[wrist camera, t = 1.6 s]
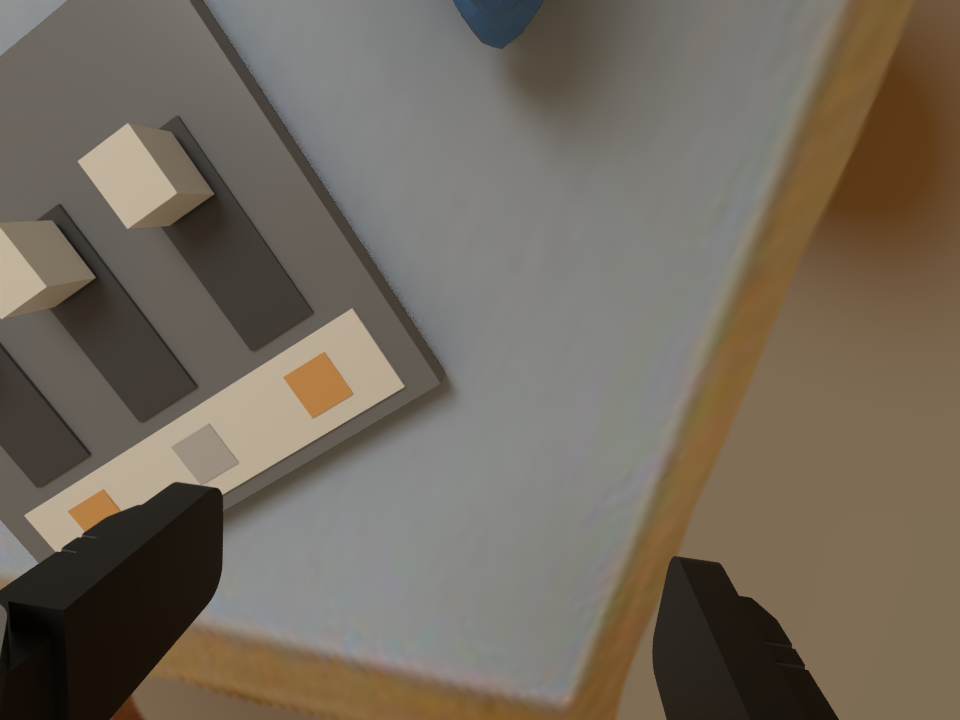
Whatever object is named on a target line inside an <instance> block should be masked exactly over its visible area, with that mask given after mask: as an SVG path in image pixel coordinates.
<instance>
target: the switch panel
mask: <svg viewBox="0 0 960 720" xmlns="http://www.w3.org/2000/svg"><path fill="white" fill-rule="evenodd" d="M127 123H131V124H136V125H140V126H145V127H150V128H155V129H160V130H165V131H170V132H172V134H173V135H174V137H175V138H176V139H177V141H178V142H179V144H180V145H181V147H182V148H183V149H184V151H185V152H186V154H187V155H188V157H189V158H190V160H191V161H192V162H193V164H194V165H195V167H196V168H197V170H198V171H199V173H200V174H201V175H202V177H203V178H204V180H205V181H206V183H207V184H208V185H209V187H210V188H211V190H212V191H213V193H214V195H212V196H211V197H209V198H208V199H207V200H205V201H204V202H202V203H201V204H199V205H198V206H197V207H195V208H194V209H192V210H191V211H190V212H188V213H187V214H185V215H184V216H183V217H181V218H180V219H178V220H177V221H175V222H174V223H173V224H171V225H170V226H162V227H148V228H135V229H127V228H126V226H125V225H124V224H123V222H122V221H121V220H120V218H119V217H118V216H117V214H116V213H115V211H114V210H113V209H112V207H111V206H110V205H109V203H108V202H107V201H106V199H105V198H104V197H103V195H102V194H101V192H100V191H99V190H98V188H97V187H96V186H95V184H94V183H93V182H92V180H91V179H90V178H89V176H88V175H87V173H86V172H85V171H84V169H83V168H82V167H81V165H80V164H79V163H78V160H80V159H81V158H82V157H84V156H85V155H86V154H88V153H89V152H90V151H92V150H93V149H94V148H95V147H97V146H98V145H99V144H101V143H102V142H103V141H105V140H106V139H107V138H109V137H110V136H111V135H113V134H114V133H115V132H117V131H118V130H119V129H121V128H122V127H123V126H124V125H126V124H127ZM47 220H52V221H53V222H54V223H55V225H56V226H57V227H58V229H59V230H60V231H61V233H62V234H63V235H64V236H65V238H66V239H67V240H68V242H69V243H70V244H71V246H72V247H73V248H74V250H75V251H76V252H77V253H78V255H79V256H80V257H81V259H82V260H83V261H84V263H85V264H86V265H87V267H88V268H89V269H90V271H91V272H92V273H93V274H94V276H95V277H96V278H95V279H93V280H92V281H91V282H89V283H88V284H86V285H85V286H84V287H82V288H81V289H79V290H78V291H76V292H75V293H74V294H72V295H71V296H69V297H68V298H67V299H65V300H64V301H62V302H61V303H60V304H58V305H57V306H55V307H52V308H48V309H44V310H39V311H35V312H31V313H27V314H22V315H18V316H14V317H9V318H5V319H1V318H0V520H1V521H2V522H3V523H4V524H5V525H6V526H7V528H8V529H9V530H10V531H11V532H12V533H13V534H14V536H15V537H16V538H17V539H18V540H19V541H20V542H21V544H22V545H23V546H24V547H25V548H26V549H27V550H28V551H29V553H30V554H31V555H32V556H33V557H34V558H35V559H36V561H37V562H38V563H40V562H42V561H43V560H45V559H46V558H48V557H49V556H51V555H52V554H54V553H55V552H56V551H57V552H61V550H62V547H64V546H65V545H67V544H68V543H70V542H71V541H72V540H74V539H75V538H77V537H80V538H81V537H82V534H83V533H84V532H85V531H87V530H88V529H90V528H91V527H93V526H94V525H96V524H97V523H99V522H100V521H101V520H103V519H104V518H106V517H108V516H110V515H113V514H116V513H118V512H121V511H123V510H126V509H128V508H131V507H133V506H136V505H142V504H144V503H145V502H147V501H148V500H149V499H151V498H152V497H153V496H155V495H156V494H158V493H159V492H160V491H162V490H163V489H165V488H166V487H167V486H169V485H170V484H172V483H174V482H182V483H189V484H195V485H202V486H209V487H216V488H219V489H220V491H221V492H222V495H223V511H225V510H226V509H228V508H230V507H232V506H233V505H235V504H237V503H238V502H240V501H242V500H244V499H245V498H247V497H249V496H250V495H252V494H254V493H255V492H257V491H259V490H261V489H262V488H264V487H266V486H267V485H269V484H271V483H273V482H274V481H276V480H278V479H279V478H281V477H283V476H285V475H286V474H288V473H290V472H291V471H293V470H295V469H296V468H298V467H300V466H302V465H303V464H305V463H307V462H308V461H310V460H312V459H314V458H315V457H317V456H319V455H320V454H322V453H324V452H325V451H327V450H329V449H331V448H332V447H334V446H336V445H337V444H339V443H341V442H343V441H344V440H346V439H348V438H349V437H351V436H353V435H355V434H356V433H358V432H360V431H361V430H363V429H365V428H366V427H368V426H370V425H372V424H373V423H375V422H377V421H378V420H380V419H382V418H384V417H385V416H387V415H389V414H390V413H392V412H394V411H395V410H397V409H399V408H401V407H402V406H404V405H406V404H407V403H409V402H411V401H413V400H414V399H416V398H418V397H419V396H421V395H423V394H425V393H426V392H428V391H430V390H431V389H433V388H435V387H436V386H438V385H440V384H441V382H442V380H443V377H444V374H445V371H444V370H443V368H442V366H441V365H440V363H439V362H438V360H437V359H436V357H435V356H434V354H433V353H432V351H431V350H430V348H429V347H428V345H427V343H426V342H425V340H424V339H423V337H422V336H421V334H420V333H419V331H418V330H417V328H416V327H415V325H414V323H413V322H412V320H411V319H410V317H409V316H408V314H407V313H406V311H405V310H404V308H403V307H402V305H401V304H400V302H399V300H398V299H397V297H396V296H395V294H394V293H393V291H392V290H391V288H390V287H389V285H388V284H387V282H386V281H385V279H384V277H383V276H382V274H381V273H380V271H379V270H378V268H377V267H376V265H375V264H374V262H373V261H372V259H371V257H370V256H369V254H368V253H367V251H366V250H365V248H364V247H363V245H362V244H361V242H360V241H359V239H358V238H357V236H356V234H355V233H354V231H353V230H352V228H351V227H350V225H349V224H348V222H347V221H346V219H345V218H344V216H343V214H342V213H341V211H340V210H339V208H338V207H337V205H336V204H335V202H334V201H333V199H332V198H331V196H330V195H329V193H328V191H327V190H326V188H325V187H324V185H323V184H322V182H321V181H320V179H319V178H318V176H317V175H316V173H315V172H314V170H313V168H312V167H311V165H310V164H309V162H308V161H307V159H306V158H305V156H304V155H303V153H302V152H301V150H300V148H299V147H298V145H297V144H296V142H295V141H294V139H293V138H292V136H291V135H290V133H289V132H288V130H287V129H286V127H285V125H284V124H283V122H282V121H281V119H280V118H279V116H278V115H277V113H276V112H275V110H274V109H273V107H272V106H271V104H270V102H269V101H268V99H267V98H266V96H265V95H264V93H263V92H262V90H261V89H260V87H259V86H258V84H257V82H256V81H255V79H254V78H253V76H252V75H251V73H250V72H249V70H248V69H247V67H246V66H245V64H244V63H243V61H242V59H241V58H240V56H239V55H238V53H237V52H236V50H235V49H234V47H233V46H232V44H231V43H230V41H229V40H228V38H227V36H226V35H225V33H224V32H223V30H222V29H221V27H220V26H219V24H218V23H217V21H216V20H215V18H214V16H213V15H212V13H211V12H210V10H209V9H208V7H207V6H206V4H205V3H204V1H203V0H68V1H66V2H65V3H64V4H63V5H62V6H60V7H59V8H58V9H57V10H56V11H54V12H53V13H52V14H51V15H50V16H48V17H47V18H46V19H45V20H43V21H42V22H41V23H40V24H39V25H37V26H36V27H35V28H34V29H33V30H31V31H30V32H29V33H28V34H27V35H25V36H24V37H23V38H22V39H20V40H19V41H18V42H17V43H16V44H14V45H13V46H12V47H11V48H10V49H8V50H7V51H6V52H5V53H4V54H2V55H1V56H0V222H23V221H47Z"/></svg>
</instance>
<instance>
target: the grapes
mask: <svg viewBox="0 0 960 720" xmlns="http://www.w3.org/2000/svg"><path fill="white" fill-rule="evenodd" d="M453 2H454V3H455V5H456V7H457V8H458V10H459V12H460V13H461V15H462V17H463V18H464V20H465V21H466V23H467V24H468V25H469V27H470V28H471V30H472V31H473V32H474V33H475V35H476V36H477V37H478V38H479V39H480V41H481V42H482V43H484V44H486V45H489V46H491V47H496V48H500V49H502V48H504V47H505V46H506V45H508V44H509V43H510V42H512V41H513V40H514V39H515V38H516V37H518V36H519V35H520V34H521V33H522V32H523V31H524V29H525V28H526V26H527V25H528V23H529V22H530V21H531V19H532V18H533V16H534V15H535V13H536V12H537V10H538V9H539V7H540V6H541V4H542V3H543V0H453Z"/></svg>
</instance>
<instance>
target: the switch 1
mask: <svg viewBox="0 0 960 720" xmlns="http://www.w3.org/2000/svg"><path fill="white" fill-rule="evenodd" d="M95 278H96V277H95V276H94V274H93V273H92V272H91V271H90V269H89V268H88V267H87V265H86V264H85V263H84V261H83V260H82V259H81V257H80V256H79V255H78V253H77V252H76V251H75V250H74V248H73V247H72V246H71V244H70V243H69V242H68V240H67V239H66V238H65V236H64V235H63V234H62V233H61V231H60V230H59V229H58V227H57V226H56V225H55V223H54V222H53V221H52V220H47V221H23V222H0V318H1V319H5V318H9V317H14V316H18V315H22V314H27V313H31V312H35V311H39V310H44V309H48V308H52V307H55V306H57V305H58V304H60V303H61V302H62V301H64V300H65V299H67V298H68V297H69V296H71V295H72V294H74V293H75V292H76V291H78V290H79V289H81V288H82V287H84V286H85V285H86V284H88V283H89V282H91V281H92V280H93V279H95Z"/></svg>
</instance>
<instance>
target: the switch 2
mask: <svg viewBox="0 0 960 720" xmlns="http://www.w3.org/2000/svg"><path fill="white" fill-rule="evenodd" d="M78 163H79V164H80V165H81V167H82V168H83V169H84V171H85V172H86V173H87V175H88V176H89V178H90V179H91V180H92V182H93V183H94V184H95V186H96V187H97V188H98V190H99V191H100V192H101V194H102V195H103V197H104V198H105V199H106V201H107V202H108V203H109V205H110V206H111V207H112V209H113V210H114V211H115V213H116V214H117V216H118V217H119V218H120V220H121V221H122V222H123V224H124V225H125V226H126V228H127V229H135V228H148V227H162V226H170V225H171V224H173V223H174V222H175V221H177V220H178V219H180V218H181V217H183V216H184V215H185V214H187V213H188V212H190V211H191V210H192V209H194V208H195V207H197V206H198V205H199V204H201V203H202V202H204V201H205V200H207V199H208V198H209V197H211V196H212V195H214V193H213V191H212V190H211V188H210V187H209V185H208V184H207V183H206V181H205V180H204V178H203V177H202V175H201V174H200V173H199V171H198V170H197V168H196V167H195V165H194V164H193V162H192V161H191V160H190V158H189V157H188V155H187V154H186V152H185V151H184V149H183V148H182V147H181V145H180V144H179V142H178V141H177V139H176V138H175V137H174V135H173V134H172V132H170V131H165V130H160V129H155V128H150V127H145V126H140V125H136V124H131V123H127V124H126V125H124V126H123V127H122V128H121V129H119V130H118V131H117V132H115V133H114V134H113V135H111V136H110V137H109V138H107V139H106V140H105V141H103V142H102V143H101V144H99V145H98V146H97V147H95V148H94V149H93V150H92V151H90V152H89V153H88V154H86V155H85V156H84V157H82V158H81V159H80V160H78Z"/></svg>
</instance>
